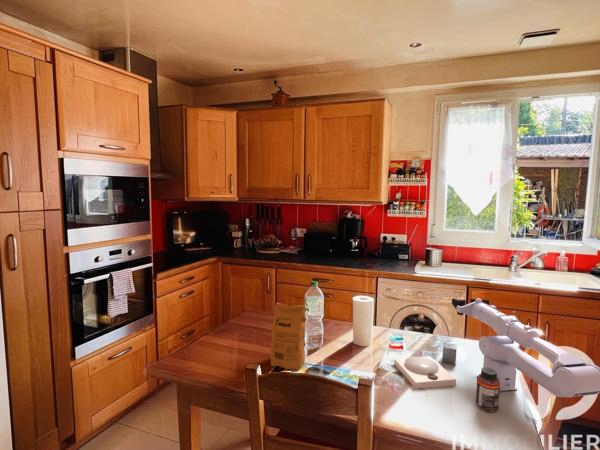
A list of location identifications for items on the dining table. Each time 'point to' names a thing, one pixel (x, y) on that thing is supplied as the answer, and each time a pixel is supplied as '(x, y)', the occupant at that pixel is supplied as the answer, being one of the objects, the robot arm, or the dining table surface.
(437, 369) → the kitchen scale
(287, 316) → the coffee package
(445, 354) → the steel spacer
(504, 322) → the robot arm
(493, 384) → the supplement bottle
